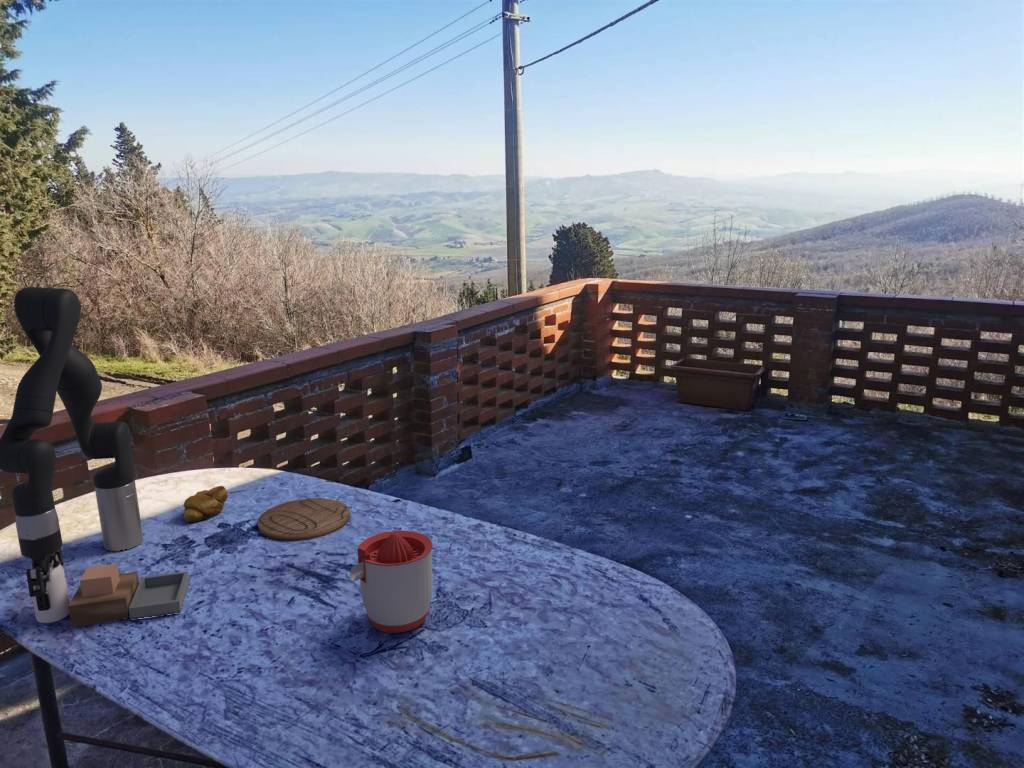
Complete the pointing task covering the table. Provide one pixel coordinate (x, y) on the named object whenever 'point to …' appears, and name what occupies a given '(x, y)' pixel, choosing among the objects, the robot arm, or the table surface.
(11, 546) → the table surface
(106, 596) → the brown wooden block
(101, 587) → the small tan cube
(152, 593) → the box
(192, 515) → the bread roll
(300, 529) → the trivet
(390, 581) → the citrus juicer
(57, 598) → the can
